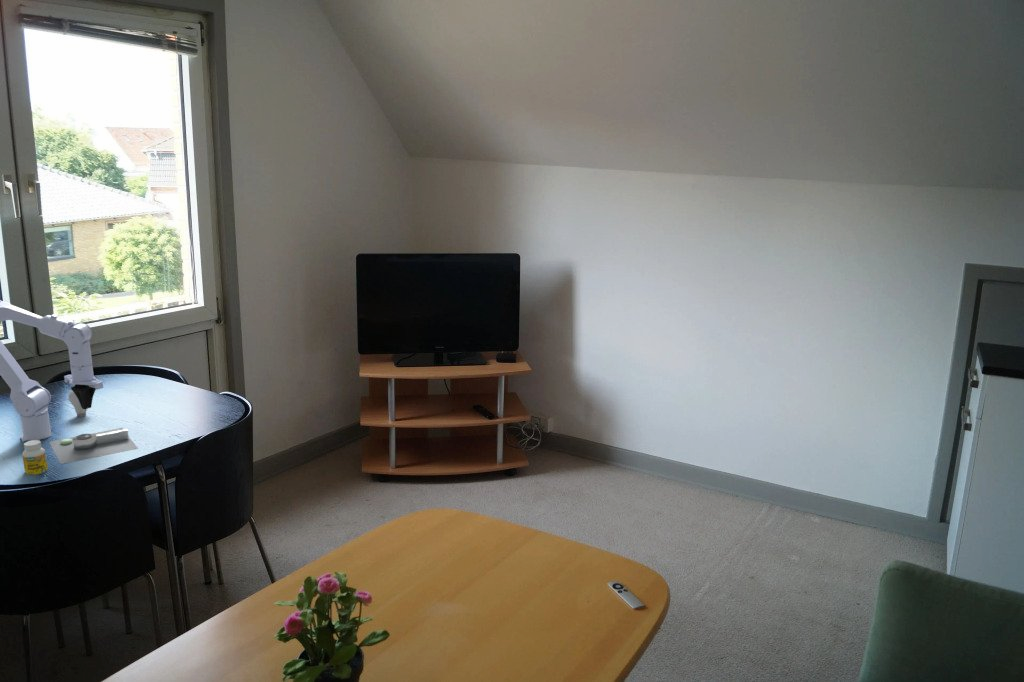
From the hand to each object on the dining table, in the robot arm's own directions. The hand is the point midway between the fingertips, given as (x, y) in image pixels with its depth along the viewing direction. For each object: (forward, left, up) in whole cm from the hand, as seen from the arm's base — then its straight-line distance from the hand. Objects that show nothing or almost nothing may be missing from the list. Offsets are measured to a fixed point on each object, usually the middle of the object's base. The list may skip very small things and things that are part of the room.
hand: (86, 408), depth 238 cm
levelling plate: (+8, -1, -10) cm, 13 cm away
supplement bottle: (+19, -17, -10) cm, 28 cm away
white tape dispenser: (+8, +2, -9) cm, 12 cm away
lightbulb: (-21, +1, -10) cm, 23 cm away
